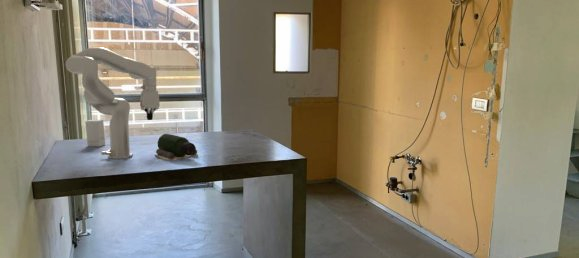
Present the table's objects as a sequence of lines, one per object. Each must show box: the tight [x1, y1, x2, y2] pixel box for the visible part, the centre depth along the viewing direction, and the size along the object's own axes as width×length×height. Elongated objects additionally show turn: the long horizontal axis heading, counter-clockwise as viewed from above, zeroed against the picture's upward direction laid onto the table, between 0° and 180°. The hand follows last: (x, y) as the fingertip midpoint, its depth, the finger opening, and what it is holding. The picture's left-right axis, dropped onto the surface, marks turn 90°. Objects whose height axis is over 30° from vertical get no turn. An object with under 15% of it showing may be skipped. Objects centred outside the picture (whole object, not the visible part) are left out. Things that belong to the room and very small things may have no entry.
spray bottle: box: [157, 133, 197, 157], centre depth 235 cm, size 10×10×25 cm
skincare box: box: [84, 119, 106, 148], centre depth 261 cm, size 8×7×16 cm
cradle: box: [154, 148, 199, 162], centre depth 238 cm, size 18×14×4 cm
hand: (149, 119), depth 253 cm, fingers closed
